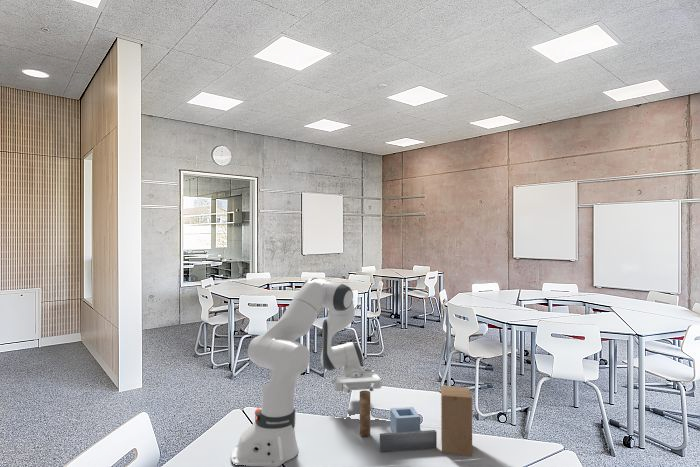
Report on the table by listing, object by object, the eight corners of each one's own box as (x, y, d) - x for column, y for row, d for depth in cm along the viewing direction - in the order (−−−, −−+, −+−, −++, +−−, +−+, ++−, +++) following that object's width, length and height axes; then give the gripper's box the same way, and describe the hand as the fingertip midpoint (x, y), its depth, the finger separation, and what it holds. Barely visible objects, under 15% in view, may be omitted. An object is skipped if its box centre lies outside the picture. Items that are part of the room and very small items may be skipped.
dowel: (360, 438, 150) (360, 394, 150) (358, 433, 154) (358, 390, 154) (371, 437, 150) (371, 394, 151) (369, 432, 154) (369, 390, 154)
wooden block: (472, 457, 136) (472, 397, 137) (441, 454, 138) (441, 395, 139) (469, 443, 146) (469, 387, 147) (441, 440, 148) (441, 385, 149)
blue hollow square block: (396, 440, 147) (396, 418, 148) (390, 429, 156) (390, 408, 156) (420, 438, 149) (420, 416, 149) (413, 427, 158) (413, 407, 158)
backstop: (380, 453, 139) (380, 435, 139) (371, 432, 154) (371, 416, 154) (436, 449, 142) (436, 431, 142) (422, 429, 157) (422, 413, 157)
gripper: (331, 372, 177) (334, 383, 163) (377, 369, 180) (384, 380, 166) (331, 387, 177) (334, 399, 163) (377, 384, 179) (384, 396, 166)
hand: (360, 390), depth 164 cm, fingers open, 8 cm apart
